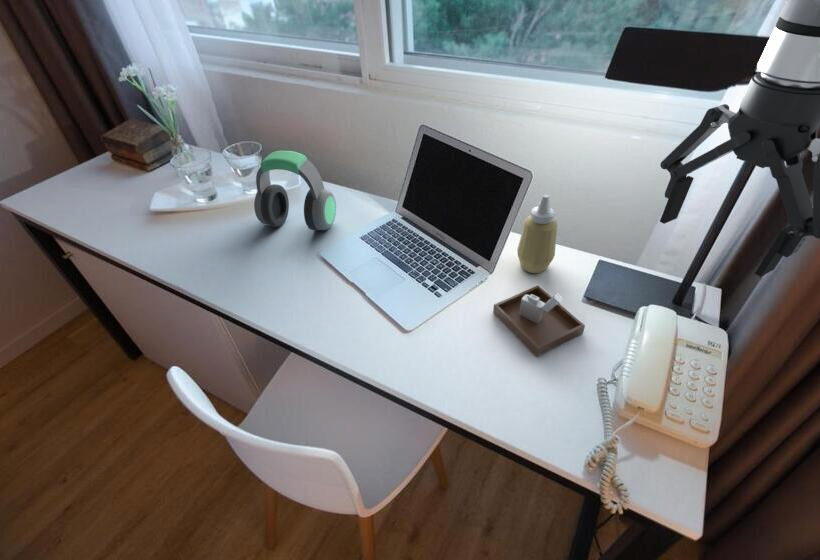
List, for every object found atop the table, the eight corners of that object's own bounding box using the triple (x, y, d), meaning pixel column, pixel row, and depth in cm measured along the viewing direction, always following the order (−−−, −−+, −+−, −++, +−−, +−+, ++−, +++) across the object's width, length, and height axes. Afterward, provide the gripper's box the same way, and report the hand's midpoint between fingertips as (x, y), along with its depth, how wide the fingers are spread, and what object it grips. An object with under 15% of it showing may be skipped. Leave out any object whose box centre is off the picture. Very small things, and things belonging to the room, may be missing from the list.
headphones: (258, 233, 113) (234, 162, 100) (277, 211, 121) (256, 143, 108) (326, 240, 109) (310, 167, 96) (340, 216, 117) (327, 146, 104)
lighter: (518, 314, 86) (523, 284, 80) (523, 309, 86) (528, 279, 81) (551, 330, 82) (559, 300, 77) (556, 325, 83) (563, 295, 78)
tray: (582, 333, 82) (585, 325, 81) (536, 357, 78) (538, 349, 77) (536, 293, 91) (538, 285, 89) (492, 312, 87) (493, 304, 86)
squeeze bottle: (520, 278, 95) (531, 208, 83) (511, 256, 101) (520, 187, 89) (557, 275, 95) (573, 204, 83) (545, 253, 101) (558, 184, 89)
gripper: (981, 103, 37) (833, 287, 51) (707, 46, 54) (653, 195, 68) (938, 123, 34) (795, 310, 48) (666, 56, 51) (618, 209, 65)
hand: (712, 243), depth 58 cm, fingers open, 13 cm apart
